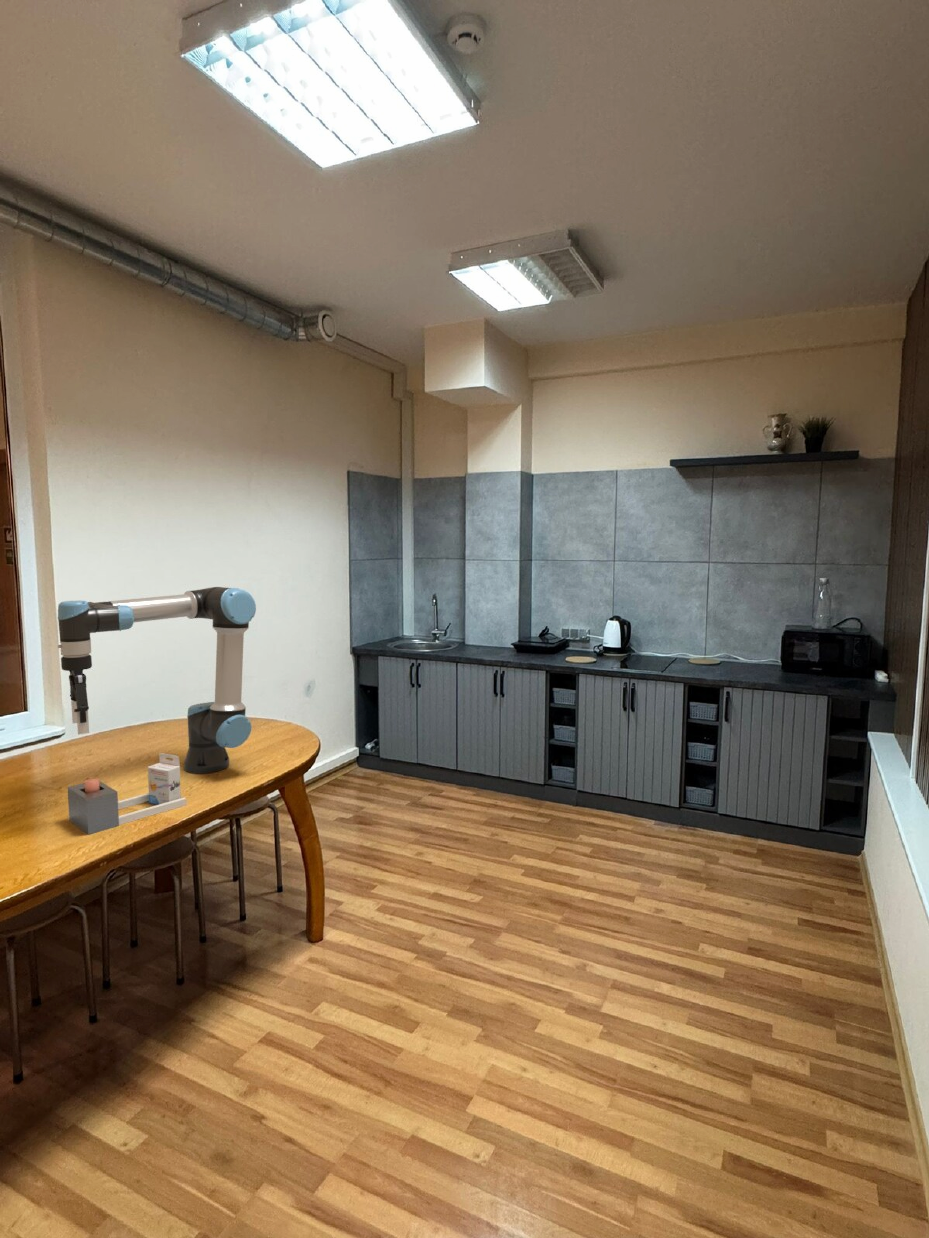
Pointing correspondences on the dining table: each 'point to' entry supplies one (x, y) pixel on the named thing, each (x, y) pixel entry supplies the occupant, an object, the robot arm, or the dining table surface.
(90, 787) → the gauge plunger
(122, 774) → the dining table surface
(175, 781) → the ink box
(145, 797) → the rail track
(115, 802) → the grey rectangular block
